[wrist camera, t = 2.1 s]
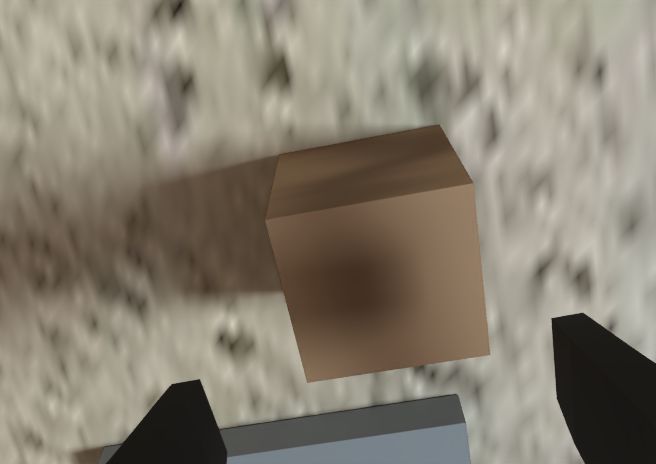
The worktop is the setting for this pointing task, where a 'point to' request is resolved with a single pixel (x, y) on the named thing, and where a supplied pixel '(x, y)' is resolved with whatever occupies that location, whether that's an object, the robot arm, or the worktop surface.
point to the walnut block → (379, 254)
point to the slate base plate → (354, 437)
